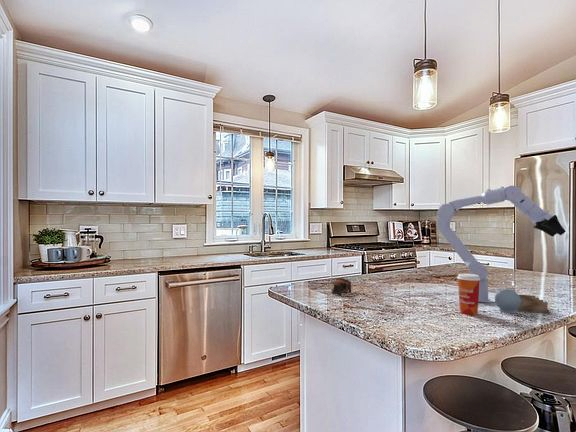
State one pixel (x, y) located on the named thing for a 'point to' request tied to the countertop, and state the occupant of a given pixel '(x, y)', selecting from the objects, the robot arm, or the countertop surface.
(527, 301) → the rack
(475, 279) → the paper cup
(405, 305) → the countertop surface
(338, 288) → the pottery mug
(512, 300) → the grey rounded disc
